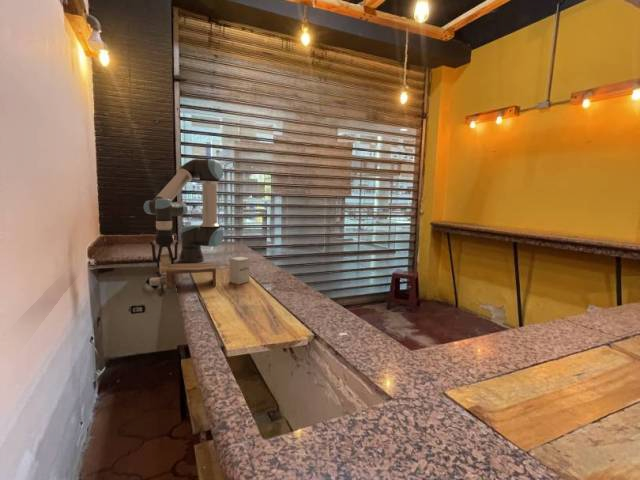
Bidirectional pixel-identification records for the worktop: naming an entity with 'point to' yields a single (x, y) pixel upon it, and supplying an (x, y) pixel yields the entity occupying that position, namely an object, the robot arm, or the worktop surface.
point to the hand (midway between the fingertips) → (165, 273)
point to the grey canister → (239, 270)
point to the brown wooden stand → (189, 270)
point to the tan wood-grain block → (164, 267)
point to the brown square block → (154, 281)
